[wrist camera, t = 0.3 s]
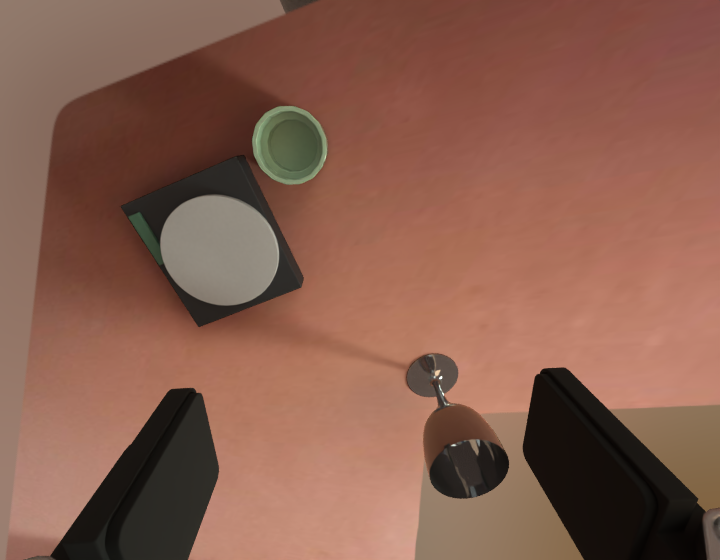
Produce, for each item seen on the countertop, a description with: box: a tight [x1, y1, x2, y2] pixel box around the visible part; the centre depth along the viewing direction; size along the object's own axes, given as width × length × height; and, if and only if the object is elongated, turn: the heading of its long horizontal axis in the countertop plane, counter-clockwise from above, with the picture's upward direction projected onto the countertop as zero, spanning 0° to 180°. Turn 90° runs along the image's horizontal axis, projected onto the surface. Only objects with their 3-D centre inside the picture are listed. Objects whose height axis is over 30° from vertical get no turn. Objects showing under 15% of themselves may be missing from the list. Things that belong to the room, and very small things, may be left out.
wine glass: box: [407, 354, 509, 499], centre depth 42 cm, size 8×8×15 cm
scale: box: [121, 155, 304, 327], centre depth 39 cm, size 15×13×4 cm
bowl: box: [252, 106, 328, 184], centre depth 35 cm, size 7×7×5 cm
